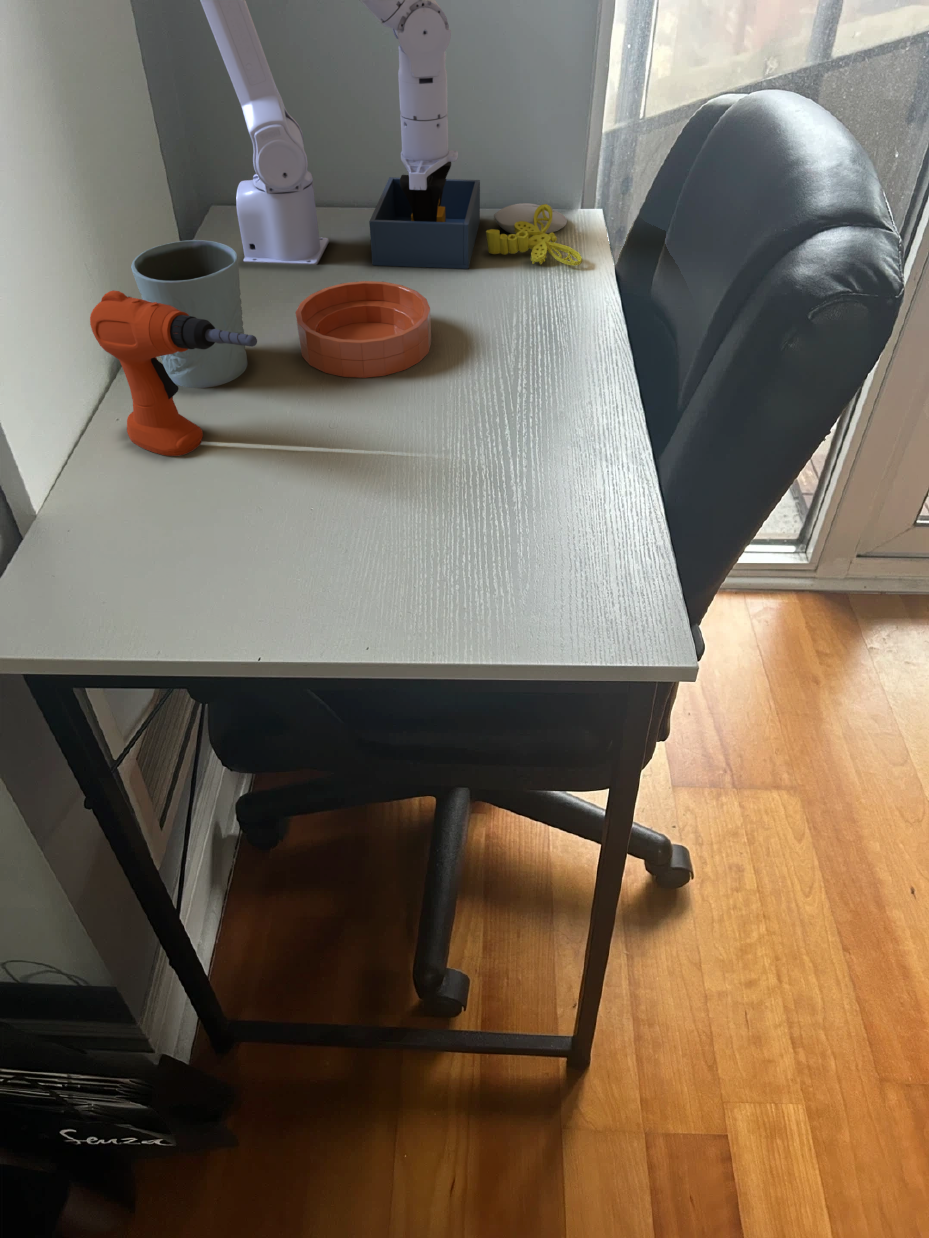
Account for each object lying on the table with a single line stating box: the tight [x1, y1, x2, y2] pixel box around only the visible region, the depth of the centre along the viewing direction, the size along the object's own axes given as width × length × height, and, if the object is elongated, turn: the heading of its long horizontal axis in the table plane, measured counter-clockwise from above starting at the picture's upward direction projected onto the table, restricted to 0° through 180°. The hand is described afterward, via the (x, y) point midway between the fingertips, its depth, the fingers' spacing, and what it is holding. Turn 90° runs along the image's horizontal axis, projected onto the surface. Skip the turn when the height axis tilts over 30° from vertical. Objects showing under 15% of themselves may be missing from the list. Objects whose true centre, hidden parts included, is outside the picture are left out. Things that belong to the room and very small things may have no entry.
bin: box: [368, 176, 481, 270], centre depth 122 cm, size 12×15×6 cm
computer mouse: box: [493, 202, 568, 234], centre depth 126 cm, size 6×10×3 cm, turn 104°
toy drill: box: [89, 289, 258, 457], centre depth 84 cm, size 5×19×15 cm, turn 62°
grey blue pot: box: [130, 239, 248, 389], centre depth 96 cm, size 10×10×12 cm
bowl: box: [294, 280, 432, 379], centre depth 102 cm, size 14×14×4 cm
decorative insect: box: [485, 203, 583, 267], centre depth 119 cm, size 13×3×10 cm
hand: (428, 227), depth 123 cm, fingers closed on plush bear, 3 cm apart
